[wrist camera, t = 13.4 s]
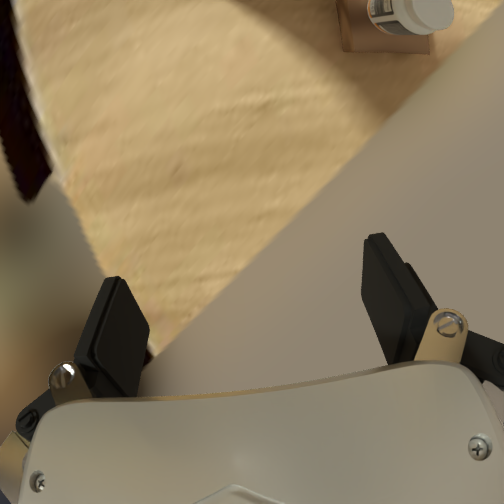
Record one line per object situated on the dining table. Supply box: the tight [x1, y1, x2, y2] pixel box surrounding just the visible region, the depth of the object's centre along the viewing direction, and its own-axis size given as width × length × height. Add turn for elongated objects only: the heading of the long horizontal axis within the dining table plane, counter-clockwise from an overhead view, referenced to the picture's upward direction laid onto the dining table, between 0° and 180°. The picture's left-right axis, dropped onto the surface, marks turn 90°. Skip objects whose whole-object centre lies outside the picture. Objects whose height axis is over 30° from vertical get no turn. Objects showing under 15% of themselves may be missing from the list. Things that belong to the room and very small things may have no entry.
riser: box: [336, 0, 430, 55], centre depth 27 cm, size 10×10×4 cm
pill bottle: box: [367, 0, 454, 35], centre depth 22 cm, size 6×6×10 cm
